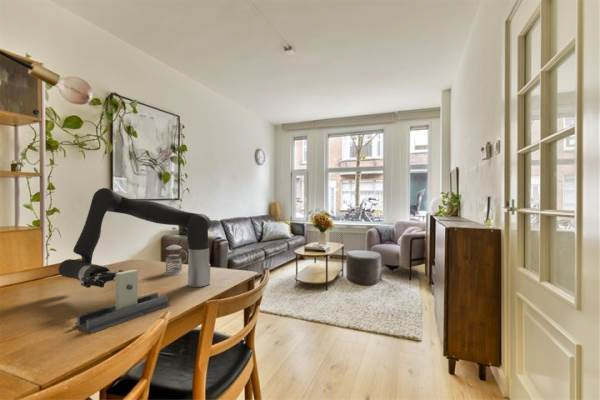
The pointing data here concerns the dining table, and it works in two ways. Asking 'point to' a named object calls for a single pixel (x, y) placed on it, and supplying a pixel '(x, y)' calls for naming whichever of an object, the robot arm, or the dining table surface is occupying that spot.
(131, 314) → the track
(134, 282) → the door panel
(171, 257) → the french press
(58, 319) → the dining table surface
